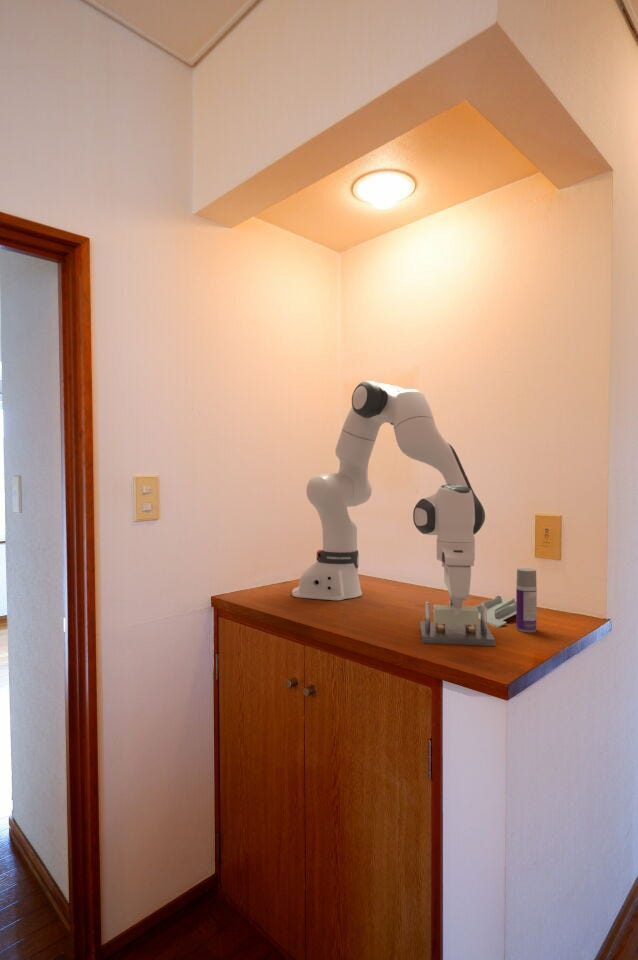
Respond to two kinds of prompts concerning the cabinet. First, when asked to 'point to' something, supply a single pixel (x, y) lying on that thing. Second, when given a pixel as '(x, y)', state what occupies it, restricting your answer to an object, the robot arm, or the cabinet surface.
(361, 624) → the cabinet surface
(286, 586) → the cabinet surface
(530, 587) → the container
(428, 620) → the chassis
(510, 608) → the metal bracket
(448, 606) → the board
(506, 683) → the cabinet surface
